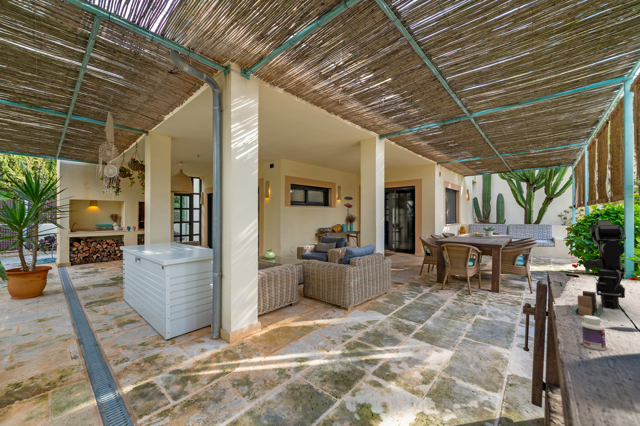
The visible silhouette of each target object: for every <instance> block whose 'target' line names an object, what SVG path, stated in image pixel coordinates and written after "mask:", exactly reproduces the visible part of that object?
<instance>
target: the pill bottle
mask: <svg viewBox="0 0 640 426" xmlns="http://www.w3.org/2000/svg"><path fill="white" fill-rule="evenodd" d="M583 320H584V321H581V323H580V324H581V327H580V328H581V337H582V338H581V339H582V345H583V346H584V347H586V348H589V349H591V350H597V351H605V350H607V346H606V345H607V344H606V334H605V333H606V332H605V331H606V330H605V327H604V325H602V323H601V322H602V320H601V318H600V317H595V316H589V315H585V316H583Z"/></svg>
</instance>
